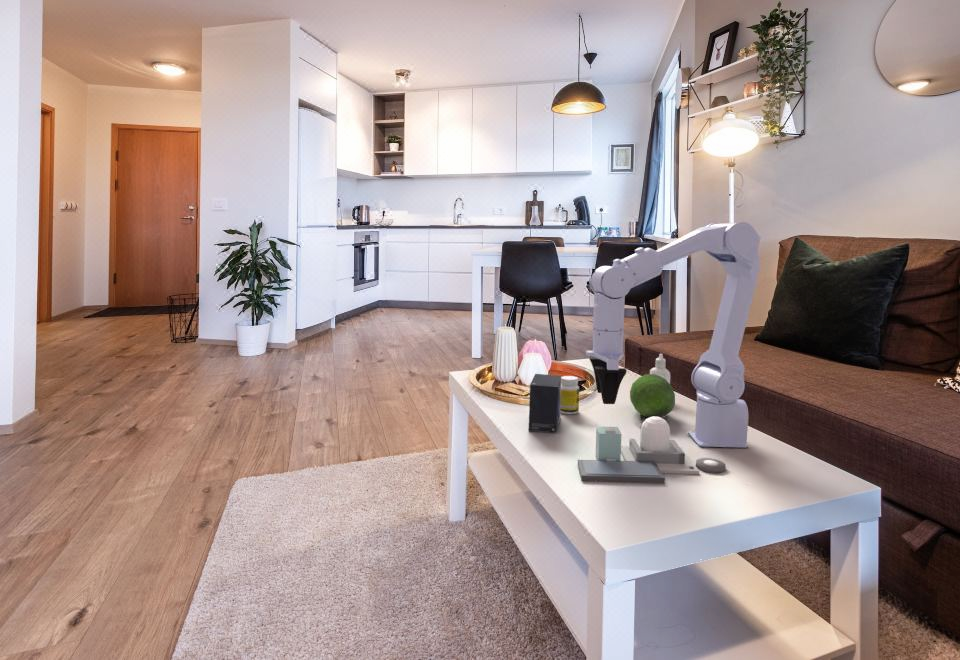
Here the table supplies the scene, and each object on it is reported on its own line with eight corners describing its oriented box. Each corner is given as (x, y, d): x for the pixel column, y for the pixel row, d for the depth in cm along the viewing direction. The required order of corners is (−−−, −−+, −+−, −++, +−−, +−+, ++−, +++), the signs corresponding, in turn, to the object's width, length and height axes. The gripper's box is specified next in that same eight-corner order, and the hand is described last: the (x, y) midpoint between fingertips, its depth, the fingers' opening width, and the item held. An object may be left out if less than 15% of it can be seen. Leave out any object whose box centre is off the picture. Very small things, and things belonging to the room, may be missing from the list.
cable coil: (719, 462, 106) (720, 457, 106) (729, 473, 101) (729, 468, 101) (692, 461, 106) (692, 457, 106) (700, 472, 101) (700, 467, 101)
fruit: (625, 404, 143) (626, 365, 141) (666, 406, 141) (668, 366, 140) (632, 424, 128) (634, 380, 126) (678, 426, 126) (680, 382, 125)
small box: (558, 433, 122) (559, 386, 120) (527, 431, 123) (528, 384, 121) (561, 418, 132) (562, 374, 130) (533, 416, 133) (533, 373, 132)
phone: (655, 466, 104) (655, 459, 104) (664, 483, 97) (665, 475, 97) (577, 464, 105) (577, 457, 105) (581, 480, 98) (581, 473, 98)
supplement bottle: (580, 414, 134) (581, 380, 133) (560, 414, 135) (560, 380, 133) (576, 408, 139) (577, 375, 138) (557, 408, 139) (558, 375, 138)
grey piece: (681, 450, 112) (681, 438, 112) (699, 474, 101) (699, 460, 100) (619, 448, 113) (619, 436, 112) (630, 472, 102) (630, 459, 101)
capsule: (667, 453, 110) (669, 413, 109) (669, 464, 105) (672, 422, 104) (639, 451, 112) (640, 411, 110) (639, 461, 107) (641, 420, 105)
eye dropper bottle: (652, 402, 144) (654, 356, 142) (647, 396, 150) (649, 351, 148) (670, 402, 144) (672, 356, 142) (664, 396, 150) (666, 351, 148)
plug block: (616, 457, 109) (617, 423, 108) (620, 465, 105) (621, 430, 104) (595, 456, 109) (596, 423, 108) (598, 464, 105) (599, 430, 104)
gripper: (583, 323, 116) (581, 387, 119) (591, 335, 102) (589, 408, 104) (618, 323, 116) (615, 388, 118) (631, 335, 102) (628, 409, 104)
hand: (605, 397), depth 111 cm, fingers open, 7 cm apart
